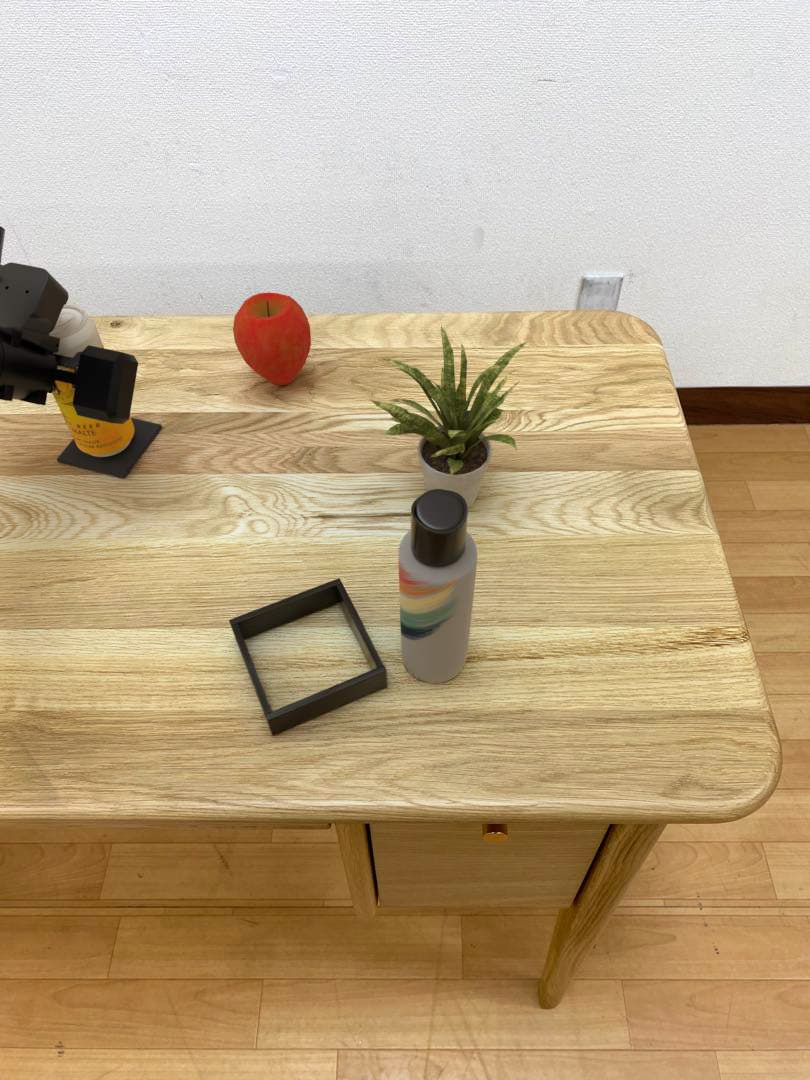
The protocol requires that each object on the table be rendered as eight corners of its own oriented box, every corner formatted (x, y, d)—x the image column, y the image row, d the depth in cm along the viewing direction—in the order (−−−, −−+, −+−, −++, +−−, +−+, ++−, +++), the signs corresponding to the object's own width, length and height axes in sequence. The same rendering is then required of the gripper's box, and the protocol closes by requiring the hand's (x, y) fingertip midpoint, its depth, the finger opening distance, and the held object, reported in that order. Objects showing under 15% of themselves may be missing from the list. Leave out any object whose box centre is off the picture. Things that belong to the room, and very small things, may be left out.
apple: (228, 381, 89) (208, 301, 80) (284, 347, 93) (270, 267, 84) (277, 416, 85) (261, 336, 77) (332, 379, 89) (324, 298, 80)
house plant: (455, 416, 85) (462, 287, 72) (553, 481, 79) (580, 353, 66) (359, 484, 79) (348, 356, 66) (458, 560, 73) (467, 436, 60)
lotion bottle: (447, 617, 69) (456, 463, 53) (478, 668, 66) (498, 520, 50) (390, 642, 67) (382, 491, 52) (419, 695, 64) (420, 551, 48)
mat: (124, 479, 80) (123, 475, 79) (58, 462, 81) (56, 459, 81) (162, 427, 84) (161, 424, 84) (98, 412, 86) (97, 409, 85)
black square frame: (272, 736, 62) (267, 720, 60) (235, 637, 68) (228, 619, 65) (387, 687, 65) (386, 670, 62) (342, 596, 70) (339, 577, 68)
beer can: (66, 447, 81) (7, 327, 70) (107, 414, 85) (58, 294, 73) (107, 468, 79) (54, 348, 68) (148, 433, 82) (104, 313, 71)
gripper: (90, 276, 59) (190, 316, 74) (-109, 238, 63) (25, 283, 78) (68, 419, 61) (170, 429, 76) (-125, 374, 64) (9, 392, 79)
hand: (92, 380), depth 77 cm, fingers closed on beer can, 6 cm apart
